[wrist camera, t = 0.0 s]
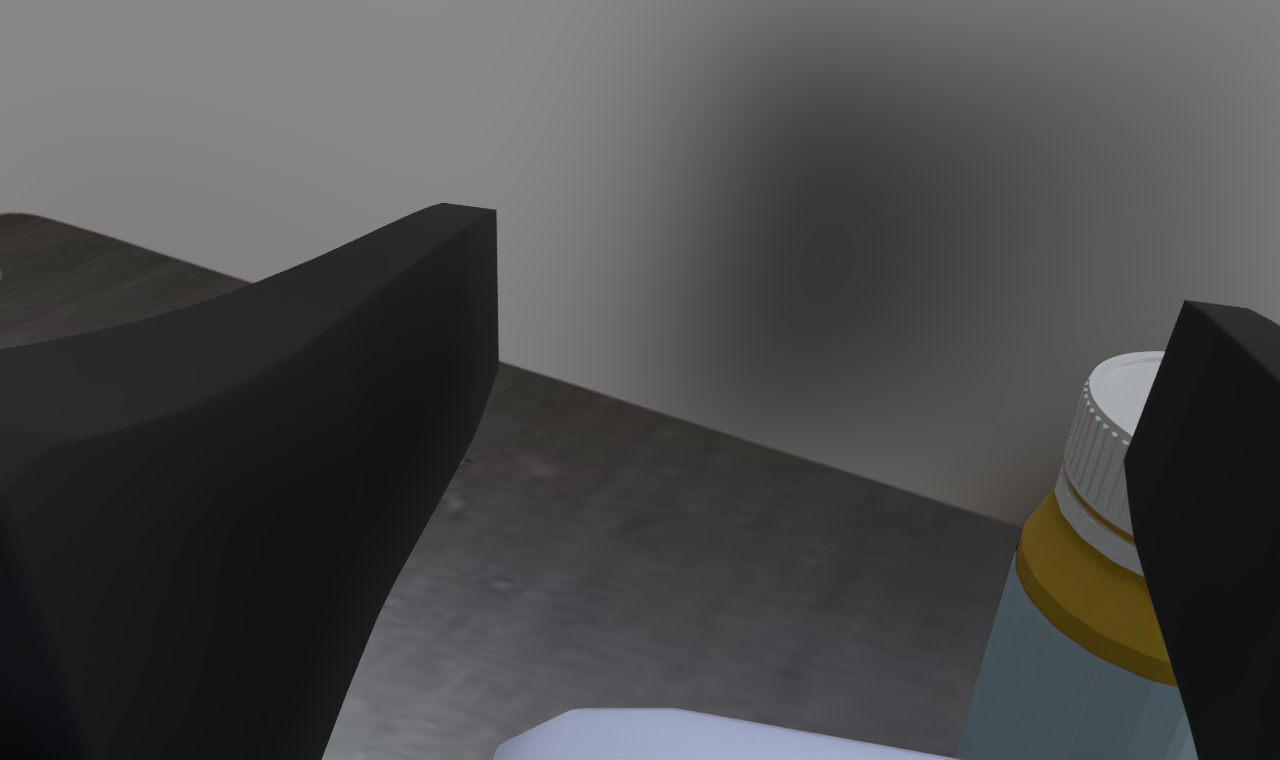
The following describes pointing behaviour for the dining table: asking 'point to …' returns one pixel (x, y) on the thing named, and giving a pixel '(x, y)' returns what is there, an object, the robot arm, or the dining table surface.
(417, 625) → the dining table surface
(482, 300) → the robot arm
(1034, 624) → the bottle
